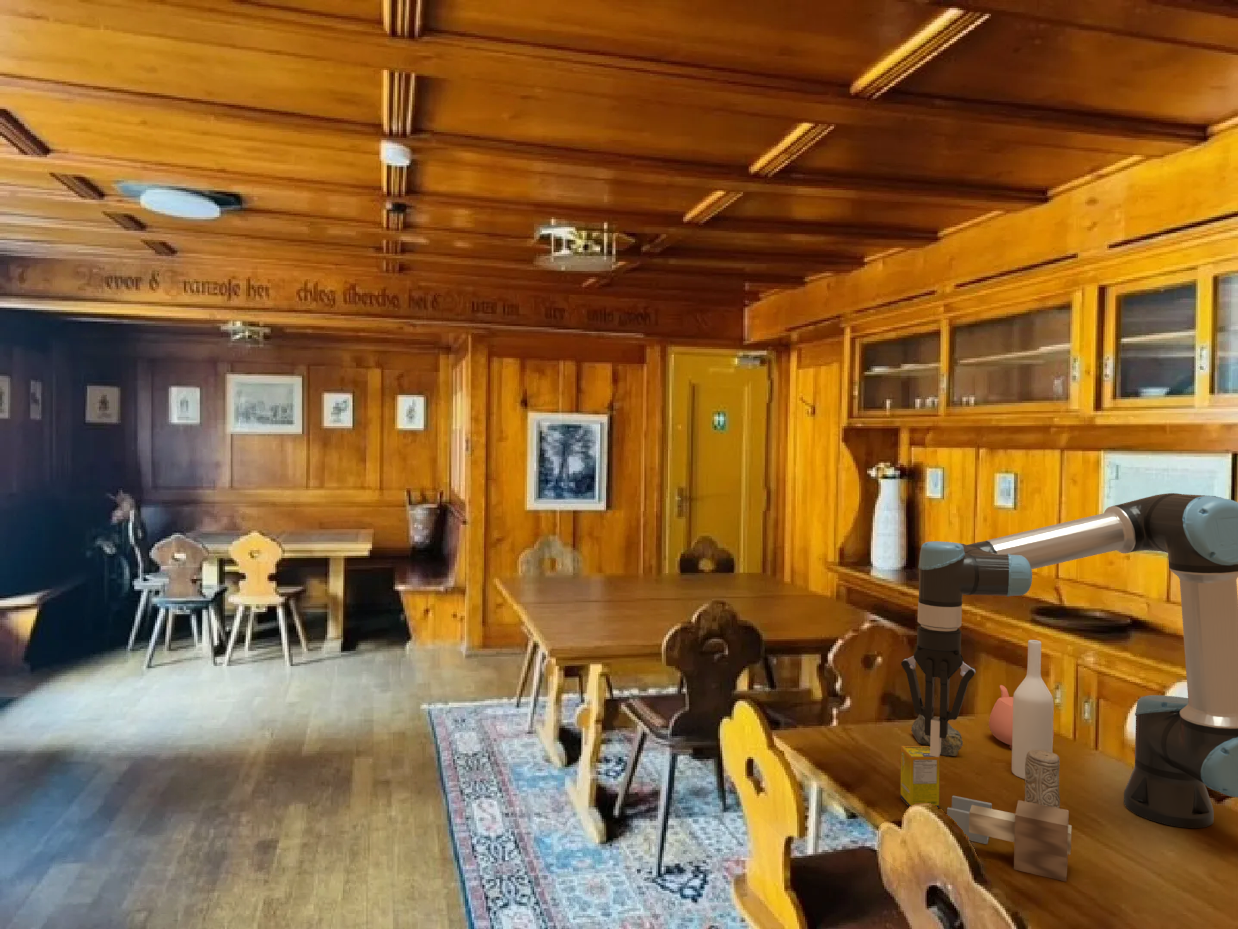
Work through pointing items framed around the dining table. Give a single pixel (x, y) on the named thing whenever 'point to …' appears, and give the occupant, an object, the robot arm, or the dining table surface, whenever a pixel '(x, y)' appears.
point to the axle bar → (998, 824)
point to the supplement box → (919, 775)
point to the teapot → (1003, 718)
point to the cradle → (966, 816)
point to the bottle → (1031, 713)
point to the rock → (948, 744)
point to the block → (1041, 840)
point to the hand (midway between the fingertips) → (935, 753)
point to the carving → (1042, 778)
